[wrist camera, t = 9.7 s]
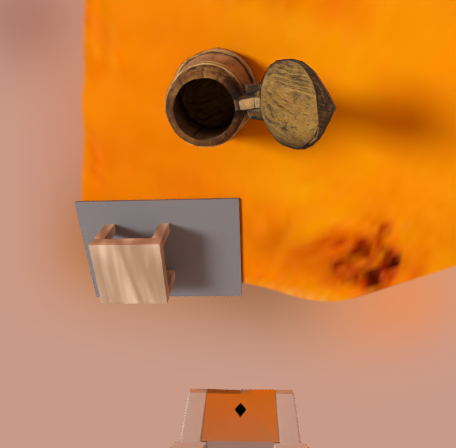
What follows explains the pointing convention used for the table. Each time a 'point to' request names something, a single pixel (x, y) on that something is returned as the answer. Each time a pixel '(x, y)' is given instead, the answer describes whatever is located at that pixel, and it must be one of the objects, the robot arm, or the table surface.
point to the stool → (131, 267)
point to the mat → (177, 238)
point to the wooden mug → (246, 100)
